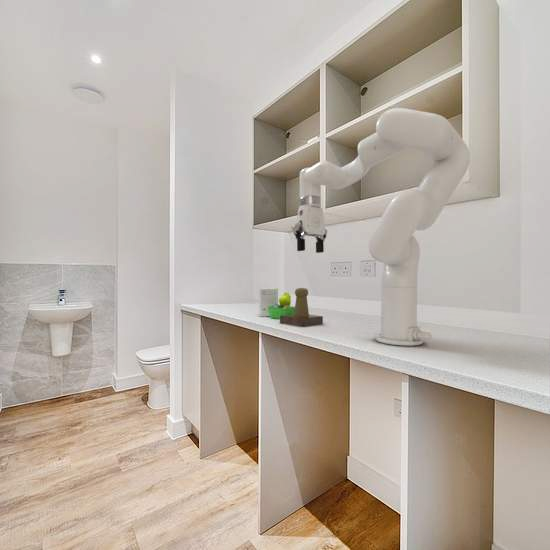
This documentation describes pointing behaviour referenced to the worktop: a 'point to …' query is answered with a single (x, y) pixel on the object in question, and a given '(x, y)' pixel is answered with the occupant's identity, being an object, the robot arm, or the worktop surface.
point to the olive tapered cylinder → (301, 303)
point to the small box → (267, 300)
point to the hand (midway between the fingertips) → (310, 251)
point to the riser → (301, 320)
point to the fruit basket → (282, 307)
